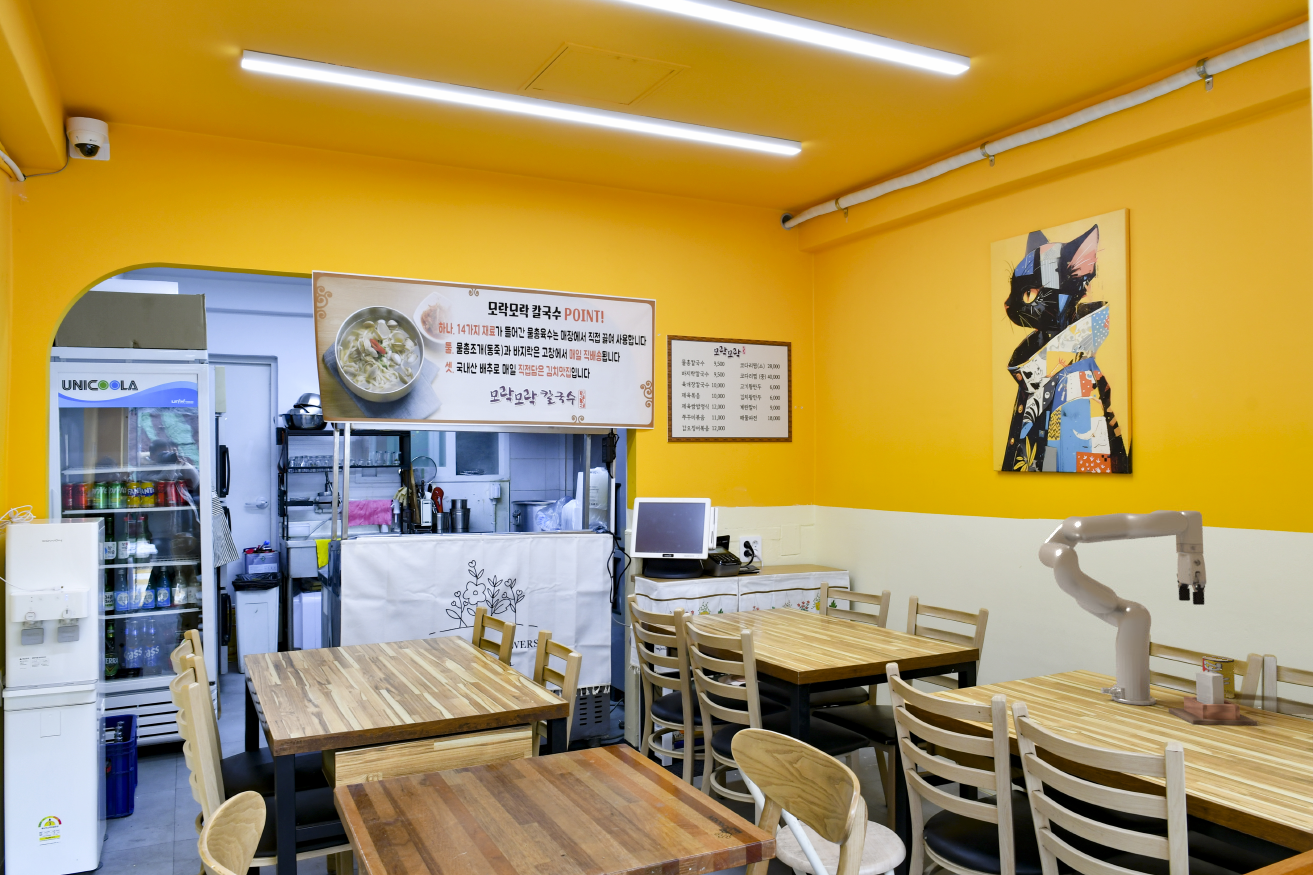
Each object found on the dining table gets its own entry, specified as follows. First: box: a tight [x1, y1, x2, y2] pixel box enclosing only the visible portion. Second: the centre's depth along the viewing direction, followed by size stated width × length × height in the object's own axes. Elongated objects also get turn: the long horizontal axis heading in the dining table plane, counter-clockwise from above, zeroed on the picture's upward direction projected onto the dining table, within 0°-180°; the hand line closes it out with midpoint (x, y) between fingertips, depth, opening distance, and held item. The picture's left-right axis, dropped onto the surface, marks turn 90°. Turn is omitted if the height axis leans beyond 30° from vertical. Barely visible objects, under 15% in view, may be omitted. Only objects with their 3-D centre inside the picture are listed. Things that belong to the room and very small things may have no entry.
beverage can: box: [1201, 655, 1236, 699], centre depth 299 cm, size 9×9×12 cm
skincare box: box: [1195, 671, 1225, 704], centre depth 270 cm, size 6×4×12 cm
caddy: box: [1167, 696, 1258, 726], centre depth 269 cm, size 18×14×5 cm
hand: (1191, 602), depth 291 cm, fingers open, 9 cm apart
